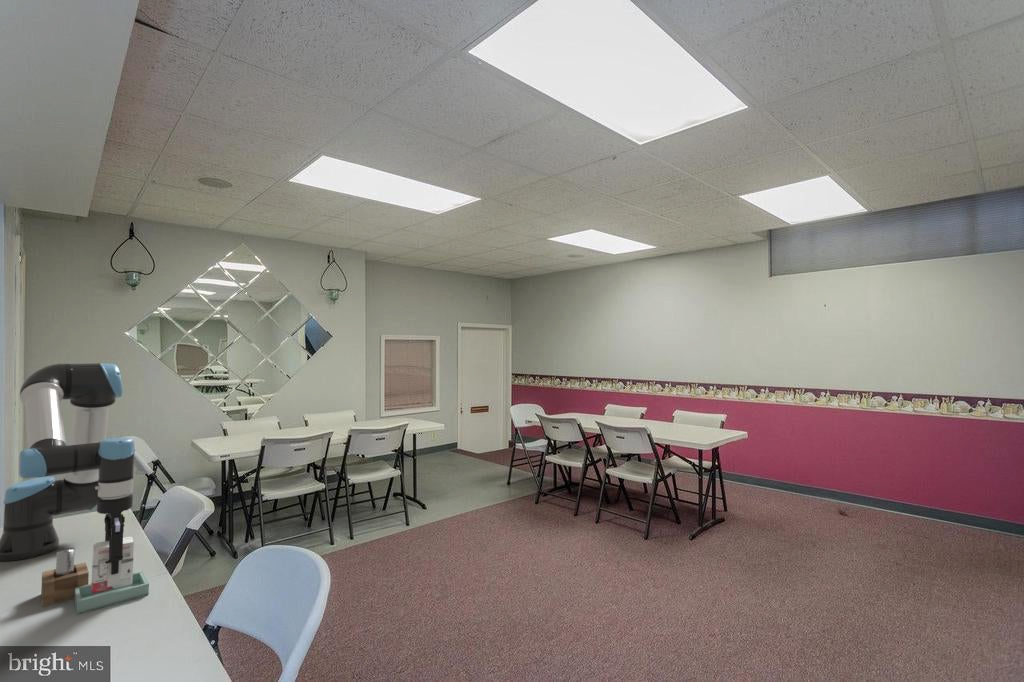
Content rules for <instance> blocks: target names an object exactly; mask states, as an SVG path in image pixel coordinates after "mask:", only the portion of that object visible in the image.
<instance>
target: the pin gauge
mask: <svg viewBox="0 0 1024 682" xmlns="http://www.w3.org/2000/svg"><path fill="white" fill-rule="evenodd" d="M55 563H56V565H55V569H56V577H60V576H64V575H69V574H73V573H74V565H75V547H67V548H62V549H59V550H57V551H56V561H55Z"/></svg>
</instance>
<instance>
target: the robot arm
mask: <svg viewBox="0 0 1024 682" xmlns="http://www.w3.org/2000/svg"><path fill="white" fill-rule="evenodd" d="M19 391H20V392H19V399H20V401H21V403H22V404H23V406H25V417H26V419H25V420H26V432H27V433H26V434H27V435H26V436H27V444H28V445H27V446H28V449H23V450H21V451H20V452H19V456H18V475H19V477H20V478H22V479H26V480H23V481H20V482H17V483H15V484H12V485H10V486H8V488H6V490H5V492H4V500H3V504H4V512H3V514H4V515H3V529H2V534H1V536H0V562H10V561H11V562H12V561H19V560H25V559H29V558H34V557H38V556H43V555H45V554H47V553H51V552H52V551H54V550H56V549H58V547H59V546H60V538H59V536H58V533H57V531H56V529H55V525H54V520H53V519H54V516H59V515H60V516H61V515H66V514H72V513H77V512H83V511H92V510H94V509H96V512H97V513H98V514H101V515H105V516H104V521H103V522H104V531H105V533H104V534H105V536H104V541H109V561H105V563H106V564H107V563H108V573H107V587H111V586H115V585H118V584H120V579H121V560H122V558H123V556H122V553H123V538H124V533H125V532H124V531H125V530H124V527H125V522H126V521H125V519H126V518H125V517H126V516H124V514H122V513H123V512H124V511H129V510H130V509H132V507H133V500H134V499H133V498H134V495H133V494H132V493H133V492H134V483H135V482H134V481H135V480H134V478H135V477H134V469H135V468H134V466H135V452H136V449H135V440H134V439H133V438H132V437H112V438H107V431H108V430H107V429H108V420H109V411H110V410H109V409H110V407H112V406H113V405H114V404H115V403H116V399H118V398H120V397H122V396H123V381H122V375H121V372H120V369H119V367H118V366H117V365H116V364H115V363H102V362H99V363H54V364H50V365H47V366H44V367H42V368H40V369H38V370H36V371H35V372H33V373H31V375H30V376H28V377H27V378H26V379H25V381H24V382H23V383H22V385H21V386H20V390H19ZM62 400H70V401H69V402H70V405H71V406H73V407H74V408H75V411H74V412H75V413H74V425H73V426H74V427H73V438H72V444H69V445H67V441H66V439H67V438H66V433H65V427H64V419H63V411H62V405H61V401H62ZM58 475H64V476H63V479H58V480H56V478H55V477H54V476H58ZM31 478H32V479H31Z"/></svg>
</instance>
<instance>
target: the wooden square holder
mask: <svg viewBox="0 0 1024 682" xmlns="http://www.w3.org/2000/svg"><path fill="white" fill-rule="evenodd" d="M89 574H90V573H89V569H88V566H87V562H82V563H76V564H74V573H73V574H69V575H64V576H60V577H56V568H55V569H50V570H46V571H42V572H41V594H40V595H41V607H46V606H50V605H53V604H57V603H62V602H66V601H69V600H73V599H74V594H75V588H77V587H81V586H85V585H89V577H90V575H89Z"/></svg>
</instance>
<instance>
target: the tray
mask: <svg viewBox="0 0 1024 682" xmlns="http://www.w3.org/2000/svg"><path fill="white" fill-rule="evenodd" d="M149 588H150V582H149V581H148V579H147V577H146V576H145V574H144V572H143V571H142V570H141V571H137V572H133V580H132V584H131V585H127V586H123V587H118V588H114V589H110V590H106V591H102V592H98V593H92V592H91V583H88V585H85V586H81V587H77V588H75V594H74V598H73V599H74V600H73V601H74V605H75V609H76V614H77V615H80V614H83V613H84V614H85V613H88V612H91V611H95V610H98V609H102V608H105V607H110V606H113V605H117V604H120V603H124V602H127V601H130V600H131V601H132V600H135V599H137V598H141V597H145V595H146V596H148V594H149V592H150V591H149V590H150V589H149Z"/></svg>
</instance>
